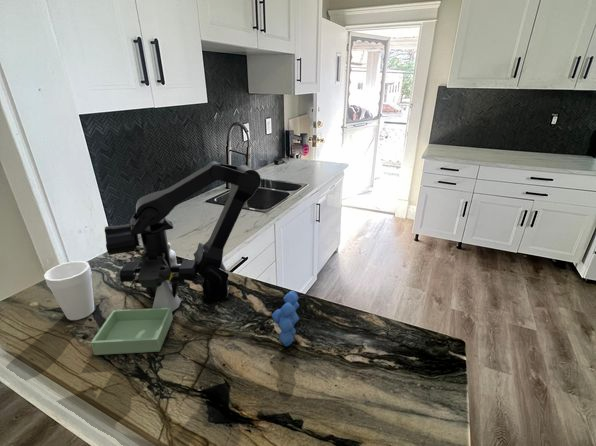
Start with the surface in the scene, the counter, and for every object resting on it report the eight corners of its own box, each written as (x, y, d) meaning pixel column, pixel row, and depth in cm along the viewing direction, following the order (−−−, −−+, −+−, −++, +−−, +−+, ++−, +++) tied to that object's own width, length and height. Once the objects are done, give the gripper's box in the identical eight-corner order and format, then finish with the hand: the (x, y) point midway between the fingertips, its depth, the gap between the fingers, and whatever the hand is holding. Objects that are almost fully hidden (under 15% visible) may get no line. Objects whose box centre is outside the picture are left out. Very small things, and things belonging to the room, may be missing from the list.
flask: (171, 316, 83) (165, 284, 79) (146, 312, 84) (140, 280, 80) (185, 300, 89) (181, 269, 85) (162, 296, 90) (157, 266, 87)
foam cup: (50, 318, 81) (35, 275, 76) (84, 298, 89) (72, 258, 84) (75, 328, 78) (61, 284, 73) (108, 306, 86) (97, 265, 81)
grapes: (277, 319, 82) (276, 280, 78) (302, 322, 81) (303, 283, 77) (265, 352, 72) (264, 310, 67) (294, 356, 71) (295, 313, 66)
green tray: (173, 318, 82) (171, 307, 80) (159, 351, 72) (157, 339, 70) (116, 321, 81) (113, 310, 79) (94, 355, 70) (90, 342, 69)
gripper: (101, 263, 71) (116, 318, 77) (186, 260, 73) (194, 315, 79) (122, 241, 81) (133, 291, 87) (196, 239, 83) (202, 289, 89)
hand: (165, 297), depth 85 cm, fingers closed on flask, 5 cm apart
